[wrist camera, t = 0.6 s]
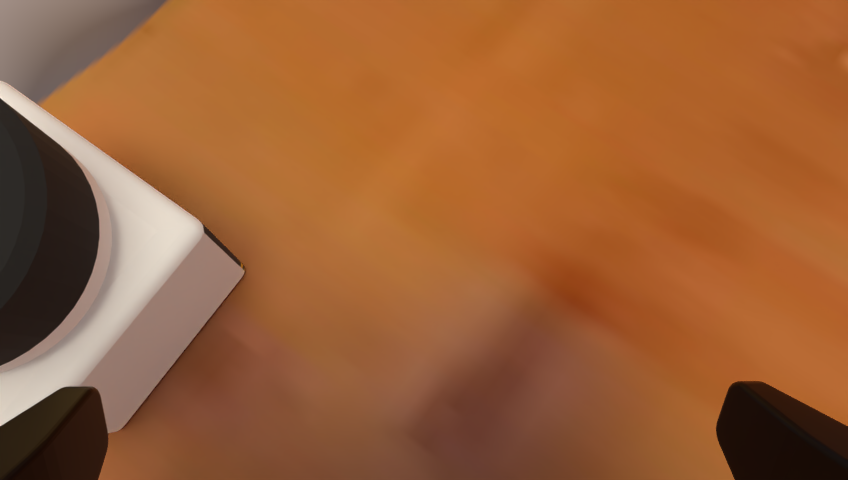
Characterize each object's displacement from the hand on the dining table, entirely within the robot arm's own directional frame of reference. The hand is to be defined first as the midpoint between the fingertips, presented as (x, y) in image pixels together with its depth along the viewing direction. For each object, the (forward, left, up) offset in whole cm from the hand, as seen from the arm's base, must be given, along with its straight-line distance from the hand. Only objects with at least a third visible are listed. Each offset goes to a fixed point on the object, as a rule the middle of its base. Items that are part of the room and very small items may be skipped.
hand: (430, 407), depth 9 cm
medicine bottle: (+6, +9, -14) cm, 18 cm away
